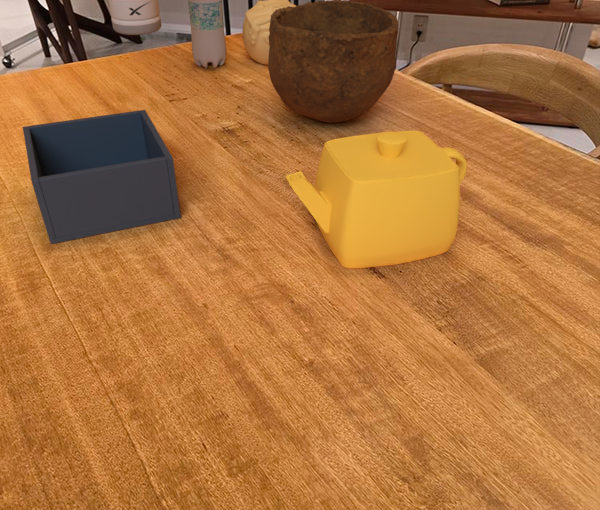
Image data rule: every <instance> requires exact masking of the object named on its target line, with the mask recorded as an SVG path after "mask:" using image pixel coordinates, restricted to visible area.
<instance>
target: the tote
mask: <svg viewBox="0 0 600 510" xmlns="http://www.w3.org/2000/svg"><path fill="white" fill-rule="evenodd" d="M22 131H23V138H24V145H25V151H26V156H27V163H28V169H29V174H30V181H31V184H32V188H33V190H34V194H35V197H36V200H37V203H38V207H39V211H40V215H41V216H42V220H43V223H44V226H45V230H46V233H47V236H48V240H49V243H50V245H53V244H58V243H64V242H69V241H73V240H78V239H83V238H87V237H88V238H89V237H92V236H93V237H94V236H99V235H103V234H108V233H113V232H117V231H123V230H128V229H133V228H138V227H142V226H143V227H144V226H147V225H152V224H157V223H162V222H168V221H173V220H177V219H182V215H181V208H180V201H179V194H178V192H179V191H178V185H177V178H176V171H175V170H176V169H175V163H174V157H173V155H172V154H171V152H170V151H169V148H168V147H167V145H166V144H165V142H164V140H163V138H162V137H161V135H160V133H159V131H158V129H157V128H156V126H155V124H154V123H153V121H152V119H151V118H150V116H149V114H148V112H147V111H146V109H140V110H132V111H126V112H118V113H111V114H105V115H104V114H103V115H96V116H89V117H83V118H82V117H81V118H75V119H67V120H62V121H53V122H47V123H38V124H32V125H26V126H22Z"/></svg>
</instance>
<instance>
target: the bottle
mask: <svg viewBox="0 0 600 510" xmlns="http://www.w3.org/2000/svg"><path fill="white" fill-rule="evenodd" d="M187 2H188V12H189V13H188V15H189V23H190V34H191V35H190V37H191V38H190V39H191V40H190V41H191V55H192V57H193V61H194V62H195V65H197V66H198V67H201V66H202V67H203V68H205V69H207V68H208V67H209V63H211V64H212V67H213V68H214V69H215V68H217V67H218V66H223V65H224V64H225V63H226V60H227V43H226V36H225V27H224V9H223V0H187Z"/></svg>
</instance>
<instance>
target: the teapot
mask: <svg viewBox="0 0 600 510" xmlns="http://www.w3.org/2000/svg"><path fill="white" fill-rule="evenodd" d="M454 160H455V161H454ZM467 171H468V161H467V159H466V157H465V156H464V155H463V153H462V152H460V151H459V150H457V149H455V148H454V147H449V146H446V147H445V146H444V147H440V146H439V145H438V144H437V143H436V142H434V140H432V139H431V138H430V137H429V136H428V135H426V134H425V133H424V132H423V131H420V130H398V131H394V130H385V131H381V132H374V133H365V134H359V135H352V136H345V137H339V138H333V139H330V140H327V141H325V142H324V144H323V147H322V150H321V154H320V158H319V162H318V166H317V170H316V175H315V180H314V185H313V183H311V181H310V180H309V179H308V178H307V177H306V176H305V174H304V173H303V172H302V171H301V170H299V171H296V172H294V173H290V174H287V175H284V177H285V180H286V181H287V183H288V185H289V186H290V188H292V190H293V191H294V193H295V194H296V196H297V197H298V198H299V199H300V201H301V203H302V204H303V205H304V206H305V208H306V209H307V211H309V213H310V214H311V215H312V217H313V218H314V220H315V222H316V225H317V227H318V229H319V232H320V233H321V235H322V237H323V239H324V241H325V243H326V245H327V246H328V248H329V249H330V251H331V252H332V254H333V256H334V257H335V258H336V260H337V261H338V263H339V264H340V266H342V267H343V268H345V269H369V268H377V267H387V266H395V265H400V264H407V263H411V262H417V261H420V260H424V259H428V258H429V259H430V258H433V257H438V256H440V255H443V254H445V253H447V252H448V251H449V250H450V248H451V247H452V245H453V243H454V241H455V239H456V237H457V233H458V232H457V231H458V226H459V219H460V211H461V210H460V208H461V184H462V182H463V180H464V178H465V177H466V174H467Z"/></svg>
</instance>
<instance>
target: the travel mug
mask: <svg viewBox="0 0 600 510" xmlns="http://www.w3.org/2000/svg"><path fill="white" fill-rule="evenodd" d="M107 2H108V8H109V12H110V16H111V18H110V20H111V25H112V29H113V31H114V32H116V33H118V34H121V35H127V36H142V35H149V34H153V33H155V32H158V31H159V30H161V28H162V18H161V14H160V12H161V10H160V3H159V0H107Z"/></svg>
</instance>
